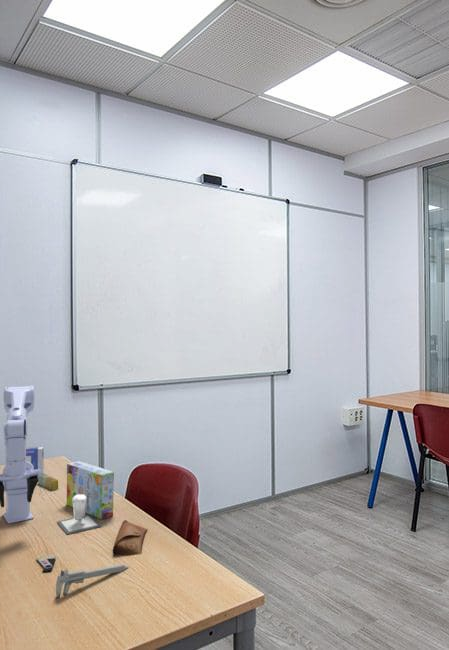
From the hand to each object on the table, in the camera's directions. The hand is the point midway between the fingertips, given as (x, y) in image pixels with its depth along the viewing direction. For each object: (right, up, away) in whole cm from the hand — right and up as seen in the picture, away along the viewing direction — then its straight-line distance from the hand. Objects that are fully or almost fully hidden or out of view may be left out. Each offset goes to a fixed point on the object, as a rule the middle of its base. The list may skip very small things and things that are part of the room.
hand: (15, 503), depth 153 cm
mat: (+16, -10, +10) cm, 22 cm away
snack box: (+16, -11, +23) cm, 30 cm away
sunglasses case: (+35, -11, -2) cm, 37 cm away
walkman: (-18, -10, +61) cm, 64 cm away
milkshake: (+17, -10, +10) cm, 22 cm away
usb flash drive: (+15, -11, -17) cm, 25 cm away
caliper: (+30, -11, -25) cm, 41 cm away
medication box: (-7, -10, +47) cm, 48 cm away
